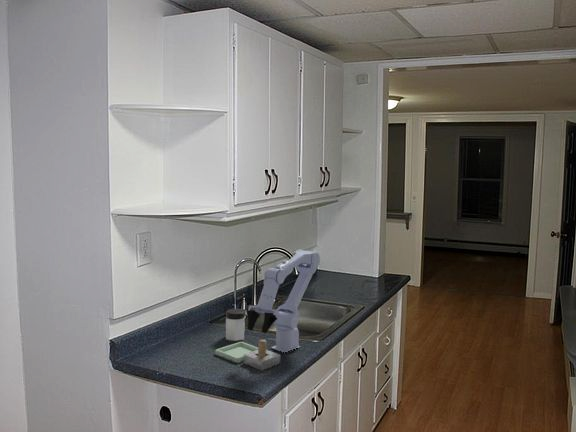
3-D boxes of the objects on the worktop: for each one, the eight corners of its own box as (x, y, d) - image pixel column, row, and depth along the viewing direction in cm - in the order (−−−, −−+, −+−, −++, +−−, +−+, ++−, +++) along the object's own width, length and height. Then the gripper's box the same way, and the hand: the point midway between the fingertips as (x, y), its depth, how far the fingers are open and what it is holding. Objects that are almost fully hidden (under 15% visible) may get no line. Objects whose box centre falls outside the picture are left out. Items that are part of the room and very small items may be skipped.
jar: (244, 341, 241) (244, 314, 239) (225, 341, 240) (225, 314, 239) (244, 334, 250) (245, 308, 248) (226, 334, 249) (226, 308, 248)
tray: (241, 346, 235) (241, 341, 235) (263, 354, 226) (263, 349, 226) (215, 354, 225) (215, 349, 224) (237, 363, 216) (237, 358, 216)
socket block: (262, 356, 224) (262, 348, 223) (280, 363, 217) (280, 354, 216) (243, 363, 216) (243, 354, 216) (261, 370, 210) (261, 361, 209)
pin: (261, 361, 219) (262, 339, 218) (267, 363, 217) (267, 341, 216) (256, 363, 216) (256, 340, 215) (261, 365, 214) (262, 342, 213)
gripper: (248, 292, 221) (236, 325, 217) (274, 296, 211) (263, 330, 207) (259, 298, 226) (248, 330, 221) (286, 302, 216) (275, 336, 212)
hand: (256, 331), depth 215 cm, fingers open, 7 cm apart
